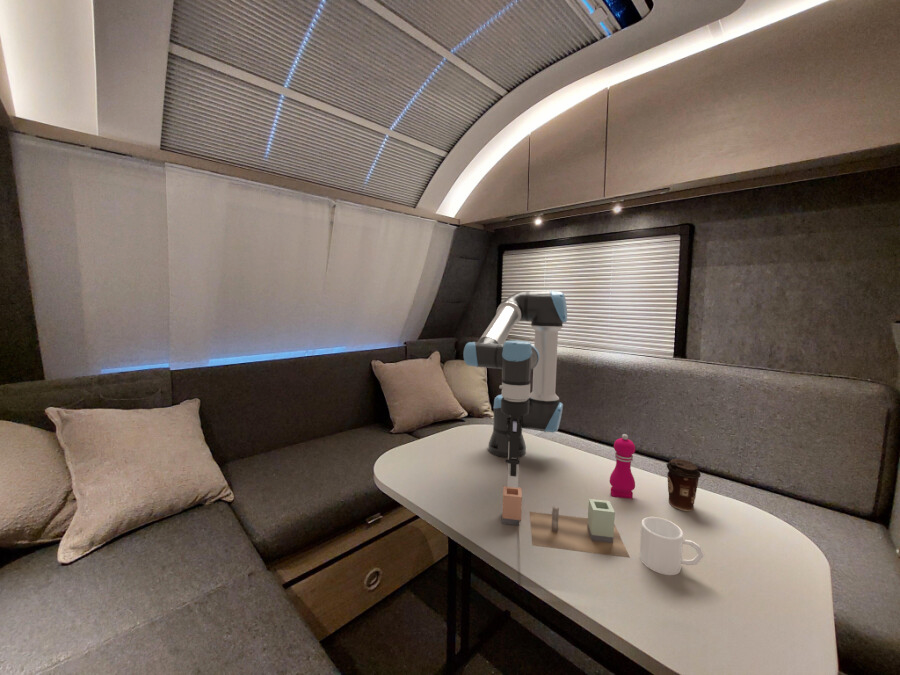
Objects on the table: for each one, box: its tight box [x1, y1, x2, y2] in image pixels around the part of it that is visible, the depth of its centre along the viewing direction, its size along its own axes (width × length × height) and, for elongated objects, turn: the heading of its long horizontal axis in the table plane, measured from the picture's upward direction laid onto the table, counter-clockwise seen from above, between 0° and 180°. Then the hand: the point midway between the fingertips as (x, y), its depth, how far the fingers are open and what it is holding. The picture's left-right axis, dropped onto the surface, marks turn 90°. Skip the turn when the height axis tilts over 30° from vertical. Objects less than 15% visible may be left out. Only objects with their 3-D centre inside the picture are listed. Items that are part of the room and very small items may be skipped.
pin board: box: [529, 505, 631, 559], centre depth 90 cm, size 14×22×8 cm, turn 80°
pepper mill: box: [609, 433, 636, 500], centre depth 110 cm, size 7×7×20 cm
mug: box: [638, 516, 705, 576], centre depth 79 cm, size 8×12×10 cm, turn 51°
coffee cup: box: [665, 458, 701, 512], centre depth 106 cm, size 9×8×13 cm
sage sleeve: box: [587, 498, 616, 543], centre depth 89 cm, size 5×5×8 cm
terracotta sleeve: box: [501, 485, 523, 526], centre depth 98 cm, size 5×5×8 cm
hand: (512, 474), depth 97 cm, fingers open, 13 cm apart
